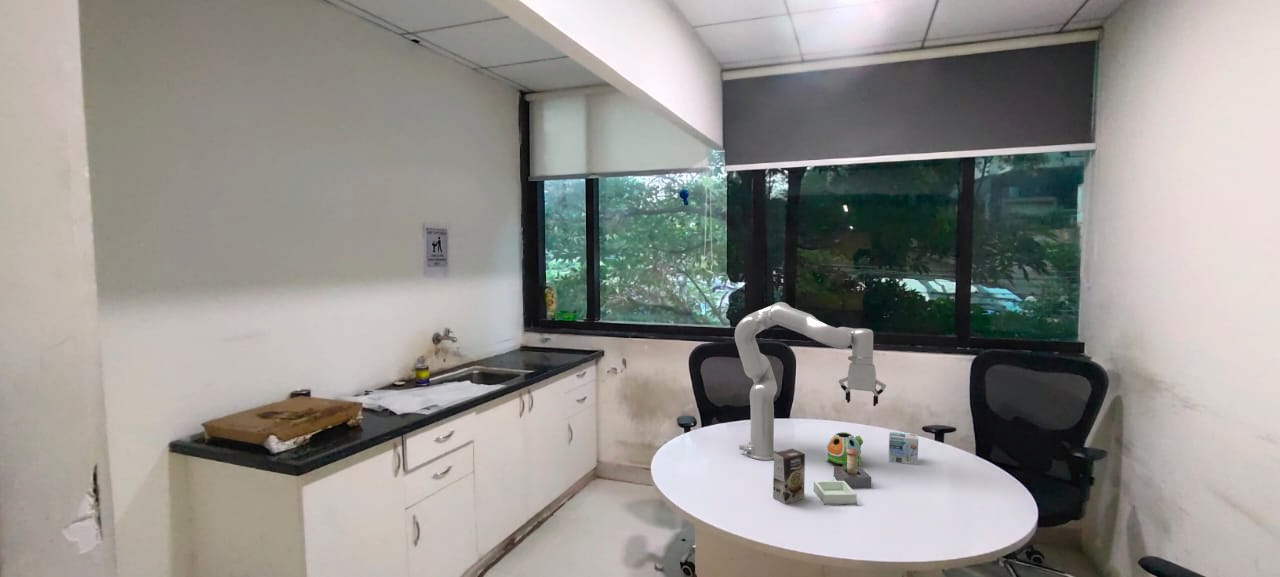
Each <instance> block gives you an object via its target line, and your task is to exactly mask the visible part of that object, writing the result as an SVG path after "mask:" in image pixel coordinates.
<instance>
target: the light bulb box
mask: <svg viewBox="0 0 1280 577" xmlns="http://www.w3.org/2000/svg"><path fill="white" fill-rule="evenodd" d="M888 435H889V439H888V441H889V442H888V462H889V463H897V464H902V465H903V464H905V465H911V466H918V462H919V460H918V459H919V456H918V455H919V436H918V434H915V433H906V432H898V431H897V432H895V431H889V434H888Z"/></svg>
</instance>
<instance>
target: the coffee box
mask: <svg viewBox="0 0 1280 577" xmlns="http://www.w3.org/2000/svg"><path fill="white" fill-rule="evenodd" d="M805 471H806V454H805V453H804V452H802V451H800V450H796V449H794V448H790V449H785V450H781V451H776V452H775V453H774V459H773V481H772V482H773V484H772V485H773V486H772V498H773V499H776V500H778V501H779V502H781V503H783V504H784V505H786V504H789V503H793V502H797V501H799V500H804V499H805V480H806V479H805V476H806V475H805V474H806V473H805Z"/></svg>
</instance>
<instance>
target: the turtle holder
mask: <svg viewBox="0 0 1280 577" xmlns="http://www.w3.org/2000/svg"><path fill="white" fill-rule="evenodd" d="M863 444H864V440H863V439H862V437H861V436H860V435H857V436H854V434H852V433H850V432H845V431H840V432H836V433H835V434H834V435H833V436H832V437H831V438H829V441H828V443H827V446H826V450H827V453H826V457H827V459H826V462H828V463H831V462H833V463H835V464H840V465H842V466H841V467H847V453H846V450H847V449H856V450H858V451H859V455H858V466H860V467H861V459H862V458H861V455H862V454H861V453H862V450H861V448H862V445H863Z"/></svg>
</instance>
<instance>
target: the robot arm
mask: <svg viewBox="0 0 1280 577" xmlns="http://www.w3.org/2000/svg"><path fill="white" fill-rule="evenodd" d="M777 325H778V326H781V327H783V328H786V329H788V330H791V331H793V332H796V333H799V334H802V335H804V336H806V337H807V338H809V339H812V340H814V341H817V342H819V343H821V344H823V345H826V346H829V347H832V348H835V349H838V350H845V349H847V348H848V347H849V346H852V349H851V356H848V357H847V359H848V361H850V363H849V365H848V372H847V376H846V377H844V378H841V379H839V380H838V383H839V385H840V388H841V389H842V390H843V391H844V393H845V400H846V403H848V404H849V403H850V402H851V390H854V391H864V392H872V394H873V397H872V398H873V399H872V400H873V401H872V402H873V407H876V406H877V405H878V404H879V396H880V395H881V394H882V393H883V392H884V391H885V389H886V387H887V384H885V383H883V382H882V381H880V380H879V379H877V371H876V370H877V369H876V365H875V364H874V332H873V330H872V329H869V328H853V327H846V326H839V327H835V326H831V325H829V324H826V323H824V322H823V321H820V320H819V319H818V318H816V317H815V316H814V315H813V314H811V313H808V312H805V311H803V310H799V309H797V308H793V307H792V306H790V305H789V304H788V303H786V302H784V301H778V302H775V303H774V304H772V305H769V306H767V307H764V308H762V309H759V310H756V311H754V312H752V313H750V314H747V315H746V316H745V317H743V318H742V319H741V320H740V321H739V322H738V324H736V327H735V330H734V341H735V344H736V347H737V350H738V354H739V358H740V361H741V363H742V367H743V371H744V373H745V375H746V376H747V377H748V378H749V379H752V381H753V384H752V386H751V388H750V390H749V391H750V392H749V404H750V441H749V442H748V443H747V444H746V445H745V444H739V446H738V447H739V448H738V450H740V451H741V450H742V451H743V452H746V455H747V456H748V458H751V459H753V460H757V461H758V460H759V461H771V460H774V453H775V452H777V450H775V449H774V446H775V444H774V440H775V438H774V437H775V436H774V435H775V433H774V432H775V419H774V418H775V413H774V412H775V409H774V408H775V407H774V399H775V398H774V397H775V395H776V394H777V392H778V385H777V384H778V383H777V380H776V378H775V374H774V371H773V368H772V365H771V362H770V360H769V359H768V356H766V355H765V354H763V353H761V351H760V348H759V345H758V342H757V340H756V335H757V334H759V333H760V332H762V331H764V330H766V329H769V328H772V327H774V326H777ZM844 383H847V384H846V385H847V386H846V385H845V384H844ZM877 385H878V386H879V387H880V389H877Z"/></svg>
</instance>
